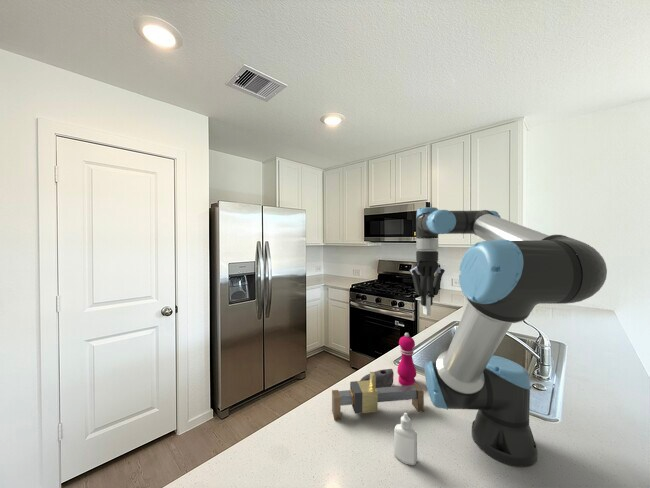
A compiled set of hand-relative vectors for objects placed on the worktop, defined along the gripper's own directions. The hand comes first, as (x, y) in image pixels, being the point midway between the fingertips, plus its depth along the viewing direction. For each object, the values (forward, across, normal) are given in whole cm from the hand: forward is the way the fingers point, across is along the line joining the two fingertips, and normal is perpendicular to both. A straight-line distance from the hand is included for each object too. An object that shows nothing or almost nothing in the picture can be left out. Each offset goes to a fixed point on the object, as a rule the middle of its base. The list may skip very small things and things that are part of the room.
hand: (426, 314), depth 97 cm
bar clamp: (+29, +21, +7) cm, 37 cm away
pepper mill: (+30, +4, -7) cm, 31 cm away
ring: (+27, +29, +7) cm, 40 cm away
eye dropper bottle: (+30, +21, +26) cm, 45 cm away
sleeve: (+27, +25, +7) cm, 38 cm away
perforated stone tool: (+30, +17, -5) cm, 35 cm away
